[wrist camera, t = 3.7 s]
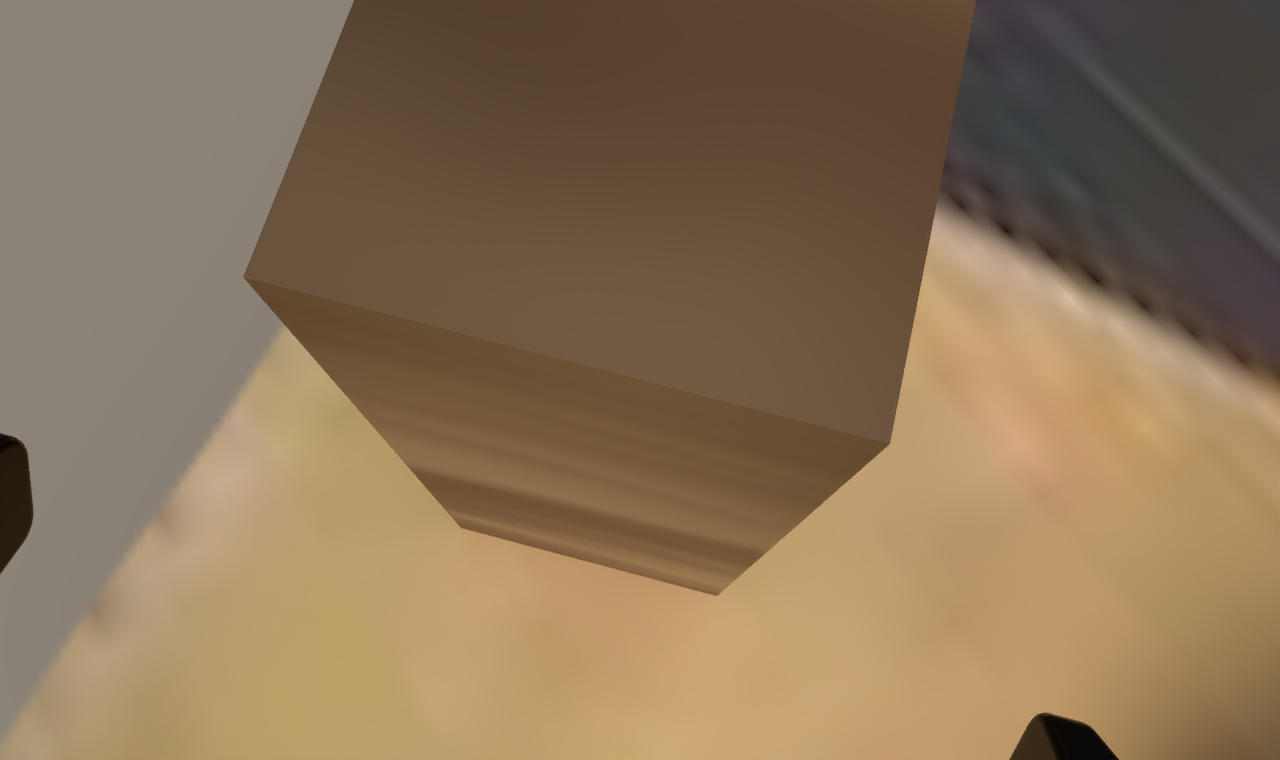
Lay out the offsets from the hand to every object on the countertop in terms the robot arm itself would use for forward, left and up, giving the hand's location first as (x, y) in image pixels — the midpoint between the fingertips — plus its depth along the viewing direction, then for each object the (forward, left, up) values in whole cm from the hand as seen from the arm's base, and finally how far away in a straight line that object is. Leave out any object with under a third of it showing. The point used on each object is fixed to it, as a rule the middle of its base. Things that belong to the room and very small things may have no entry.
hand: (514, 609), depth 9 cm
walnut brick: (+2, +4, -11) cm, 11 cm away
